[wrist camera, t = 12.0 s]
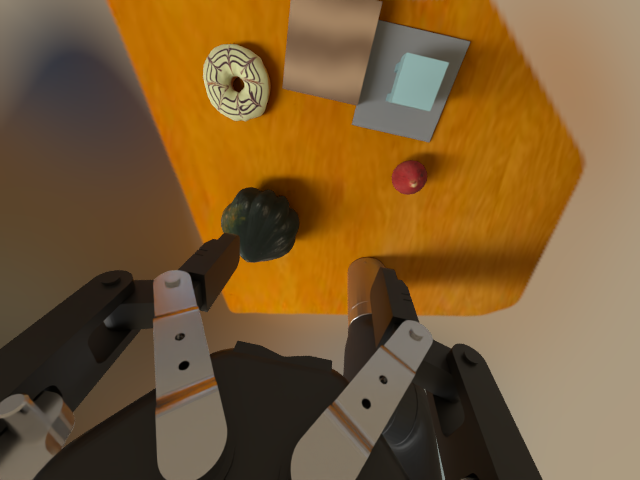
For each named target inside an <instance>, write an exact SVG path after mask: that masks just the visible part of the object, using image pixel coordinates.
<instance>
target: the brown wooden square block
mask: <svg viewBox="0 0 640 480" xmlns="http://www.w3.org/2000/svg"><path fill="white" fill-rule="evenodd" d="M381 6H382V1H377V0H291V3H290V14H289V25H288V35H287V46H286V56H285V67H284V77H283V89H287V90H292V91H296V92H300V93H305V94H309V95H313V96H318V97H322V98H327V99H331V100H335V101H340V102H344V103H348V104H353V105H358V101H359V97H360V93H361V89H362V85H363V81H364V76H365V72H366V68H367V64H368V60H369V56H370V52H371V47H372V43H373V39H374V35H375V31H376V27H377V23H378V18H379V14H380V10H381Z"/></svg>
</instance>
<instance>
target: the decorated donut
mask: <svg viewBox="0 0 640 480" xmlns="http://www.w3.org/2000/svg"><path fill="white" fill-rule="evenodd" d="M237 77H240V78H241V79H242V80H243V82H244V89H242V90H241V92H237V91H235V89H234V88H233V82H234V80H235V78H237ZM203 78H204V83H205V87H206V91H207V95H208V97H209V99H210V102H211V103H212V105H213V106H214V107H215V108H216V109H217V110H218V111H219V112H220V113H222V114H223V115H225V116H227V117H229V118H231V119H232V120H235V121H241V120H243V121H247V120H249V119H251V118H255V117H259V116H261V115H262V114H263V113H264V111H265V109H266V105H267V102H268V99H269V96H270V90H271V83H270V78H269V75H268V72H267V69H266V67H265V66H264V64H263V63H262V59H261V58H260V57H259V56H257V55H256V54H255V53H253V52H252V51H251V50H249V49H246V48H244V47H242V46H239V45H237V44H224V45H220V46H218V47H215V48H214V49H213V50H212V51H211V52H210V54H209V56H208V57H207V59H206V61H205V64H204V68H203Z"/></svg>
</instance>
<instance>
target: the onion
mask: <svg viewBox="0 0 640 480" xmlns="http://www.w3.org/2000/svg"><path fill="white" fill-rule="evenodd" d="M426 181H427V172H426V170H425V167H424V165H422V164H421V163H419V162H418V161H411V160H410V161H406V162H403V163H401V164H399V165H398V166H397V167H396V168H395V170H394V171H393V174H392V183H393V185H394V187H395V189H396V190H398V191H399V192H400V193H403V194H414V193H416V192H418V191H420V190H421V189H422V188H423V187H424V185H425V183H426Z"/></svg>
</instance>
